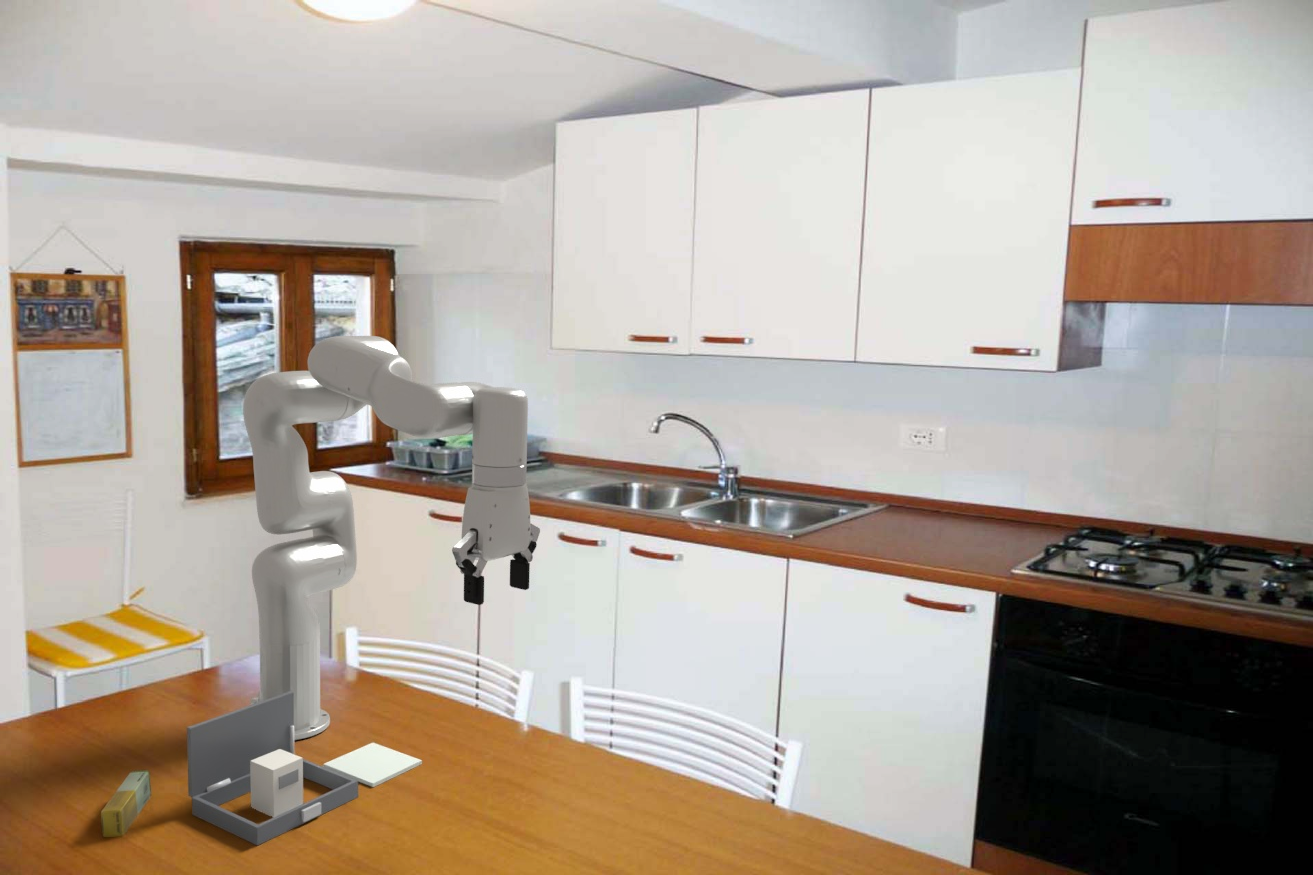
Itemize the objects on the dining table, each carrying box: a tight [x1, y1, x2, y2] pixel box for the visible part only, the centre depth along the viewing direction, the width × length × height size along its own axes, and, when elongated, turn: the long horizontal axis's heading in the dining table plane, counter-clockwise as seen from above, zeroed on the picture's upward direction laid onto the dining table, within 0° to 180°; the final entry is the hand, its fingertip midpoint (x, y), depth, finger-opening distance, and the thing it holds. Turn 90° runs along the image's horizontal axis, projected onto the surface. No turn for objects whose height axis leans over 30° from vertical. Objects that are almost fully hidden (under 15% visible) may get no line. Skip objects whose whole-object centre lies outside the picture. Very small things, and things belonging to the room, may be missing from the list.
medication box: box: [100, 770, 152, 838], centre depth 147 cm, size 12×3×4 cm, turn 9°
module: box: [250, 749, 304, 818], centre depth 151 cm, size 5×5×7 cm
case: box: [186, 691, 359, 846], centre depth 150 cm, size 16×17×12 cm
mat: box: [322, 742, 423, 788], centre depth 165 cm, size 11×10×1 cm
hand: (497, 595), depth 150 cm, fingers open, 9 cm apart
